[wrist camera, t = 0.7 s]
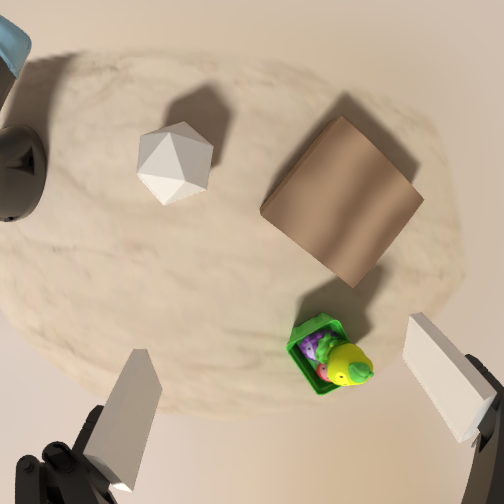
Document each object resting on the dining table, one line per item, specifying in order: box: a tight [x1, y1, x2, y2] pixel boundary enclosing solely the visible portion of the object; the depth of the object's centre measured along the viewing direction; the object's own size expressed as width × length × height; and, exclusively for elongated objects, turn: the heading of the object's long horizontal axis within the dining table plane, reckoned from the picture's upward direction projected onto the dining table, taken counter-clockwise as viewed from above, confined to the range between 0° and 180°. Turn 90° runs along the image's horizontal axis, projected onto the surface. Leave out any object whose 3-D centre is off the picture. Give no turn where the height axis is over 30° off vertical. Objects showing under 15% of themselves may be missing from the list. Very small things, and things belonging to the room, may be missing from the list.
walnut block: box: [260, 116, 424, 289], centre depth 32 cm, size 14×14×5 cm
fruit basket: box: [286, 312, 374, 396], centre depth 35 cm, size 11×9×11 cm
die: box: [137, 121, 214, 206], centre depth 29 cm, size 8×9×10 cm
